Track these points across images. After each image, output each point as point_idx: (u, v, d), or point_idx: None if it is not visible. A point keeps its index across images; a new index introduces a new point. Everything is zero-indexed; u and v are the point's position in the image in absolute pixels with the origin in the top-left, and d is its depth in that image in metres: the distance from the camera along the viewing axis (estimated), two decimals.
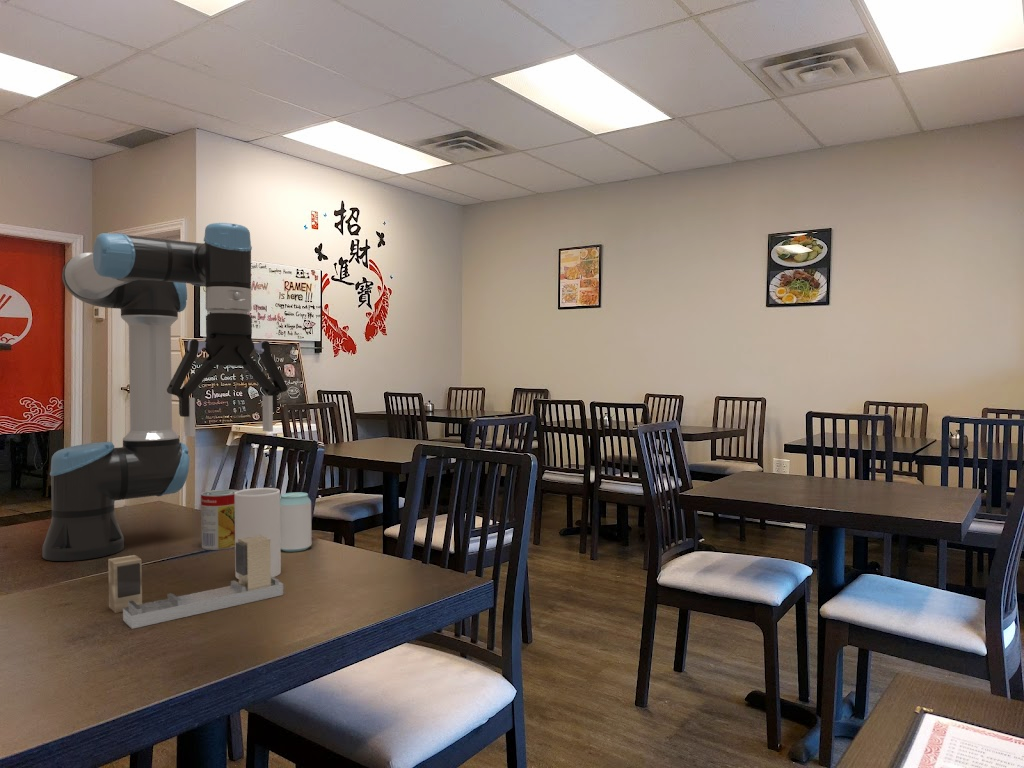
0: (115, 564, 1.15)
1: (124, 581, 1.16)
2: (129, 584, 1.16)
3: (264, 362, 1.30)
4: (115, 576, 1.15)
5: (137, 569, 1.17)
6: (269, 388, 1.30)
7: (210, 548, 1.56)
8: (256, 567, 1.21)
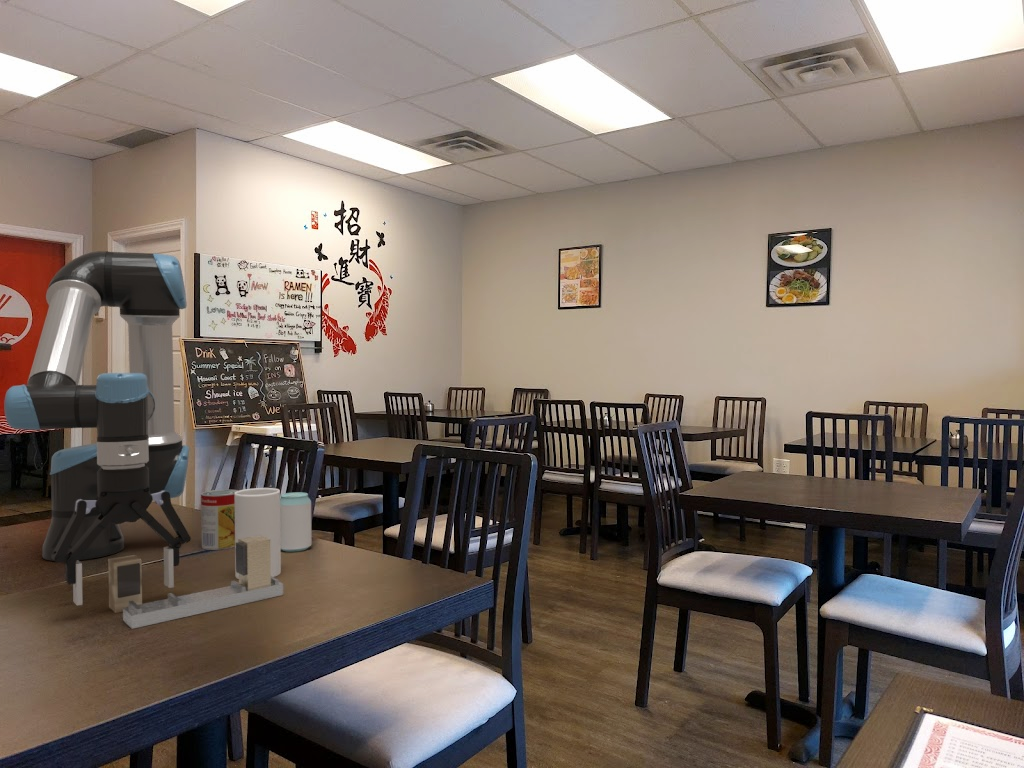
0: (115, 564, 1.15)
1: (124, 581, 1.16)
2: (129, 584, 1.16)
3: (165, 512, 1.23)
4: (115, 576, 1.15)
5: (137, 569, 1.17)
6: (169, 541, 1.22)
7: (210, 548, 1.56)
8: (256, 567, 1.21)
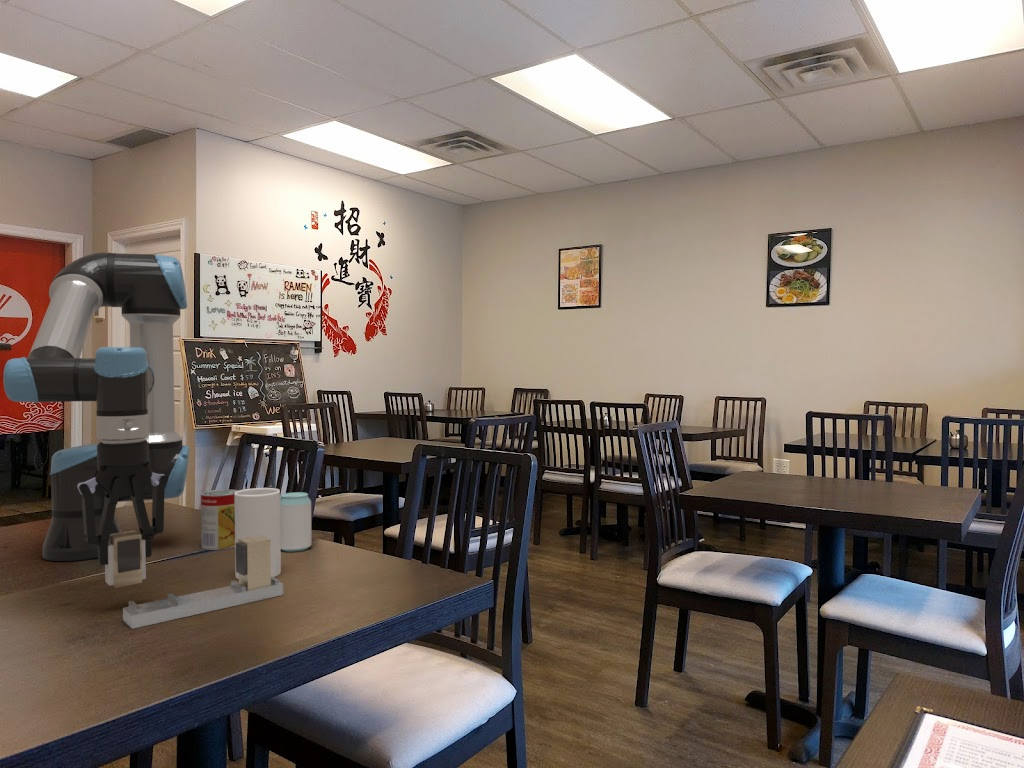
0: (115, 539, 1.16)
1: (124, 556, 1.16)
2: (129, 559, 1.17)
3: (154, 496, 1.22)
4: (115, 551, 1.16)
5: (137, 544, 1.17)
6: (144, 529, 1.19)
7: (210, 548, 1.56)
8: (256, 567, 1.21)
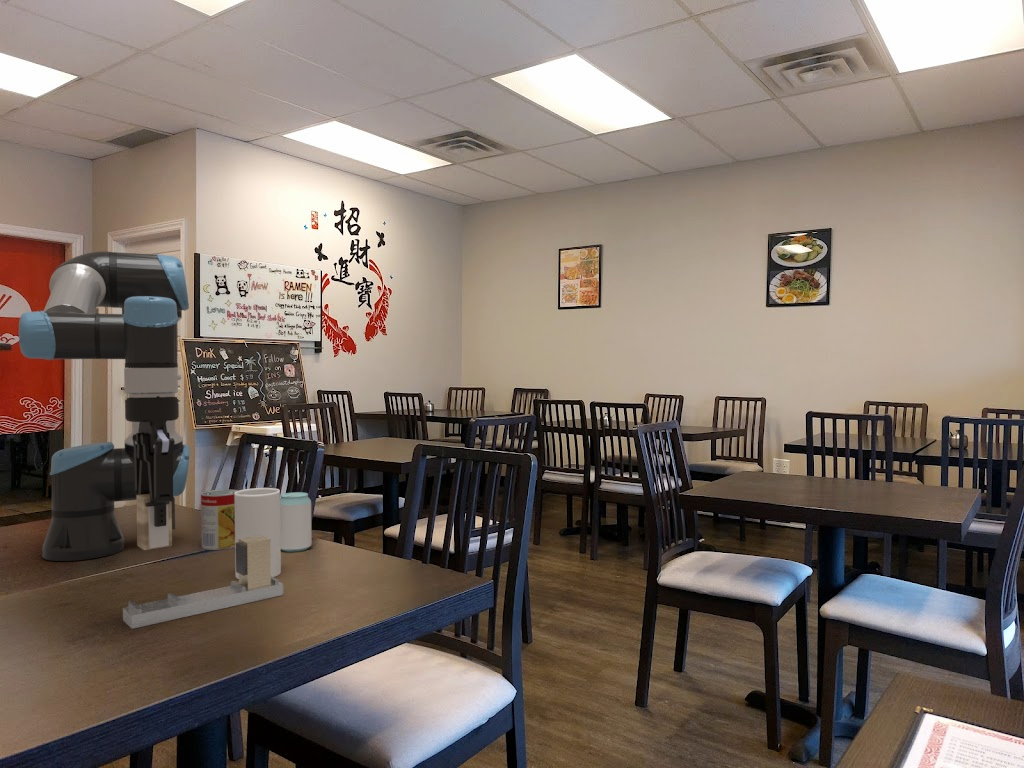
0: None
1: None
2: None
3: None
4: (171, 508, 1.12)
5: None
6: None
7: (210, 548, 1.56)
8: (256, 567, 1.21)
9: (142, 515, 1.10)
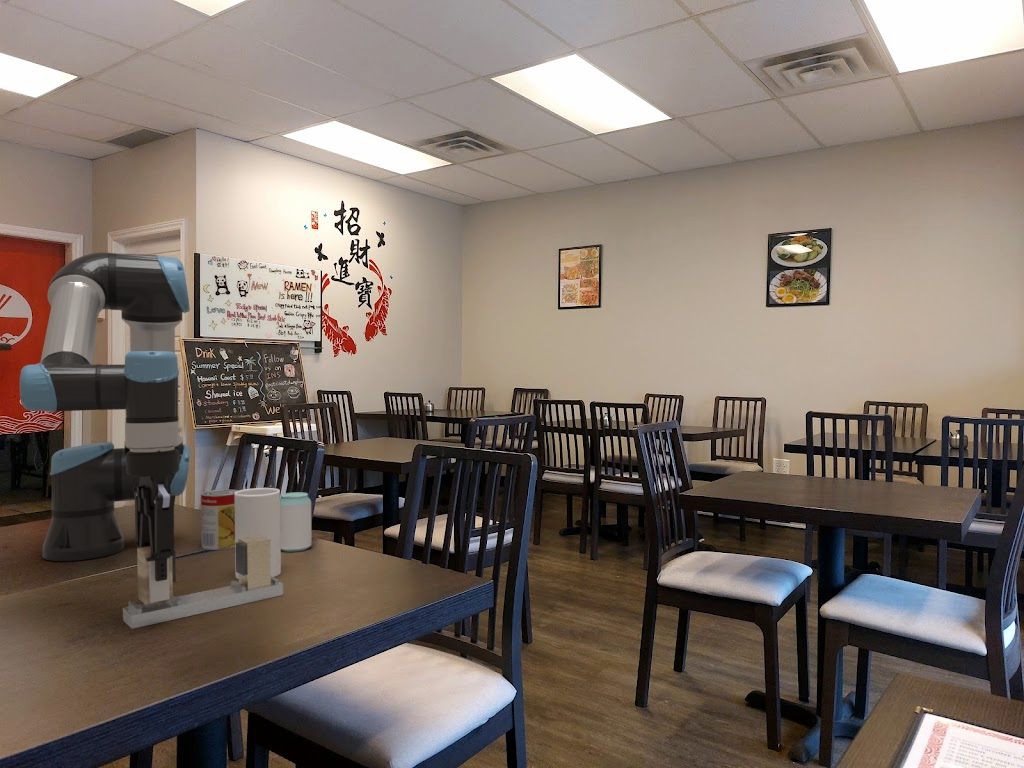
0: None
1: None
2: None
3: None
4: (171, 561, 1.12)
5: None
6: None
7: (210, 548, 1.56)
8: (256, 567, 1.21)
9: (143, 569, 1.10)
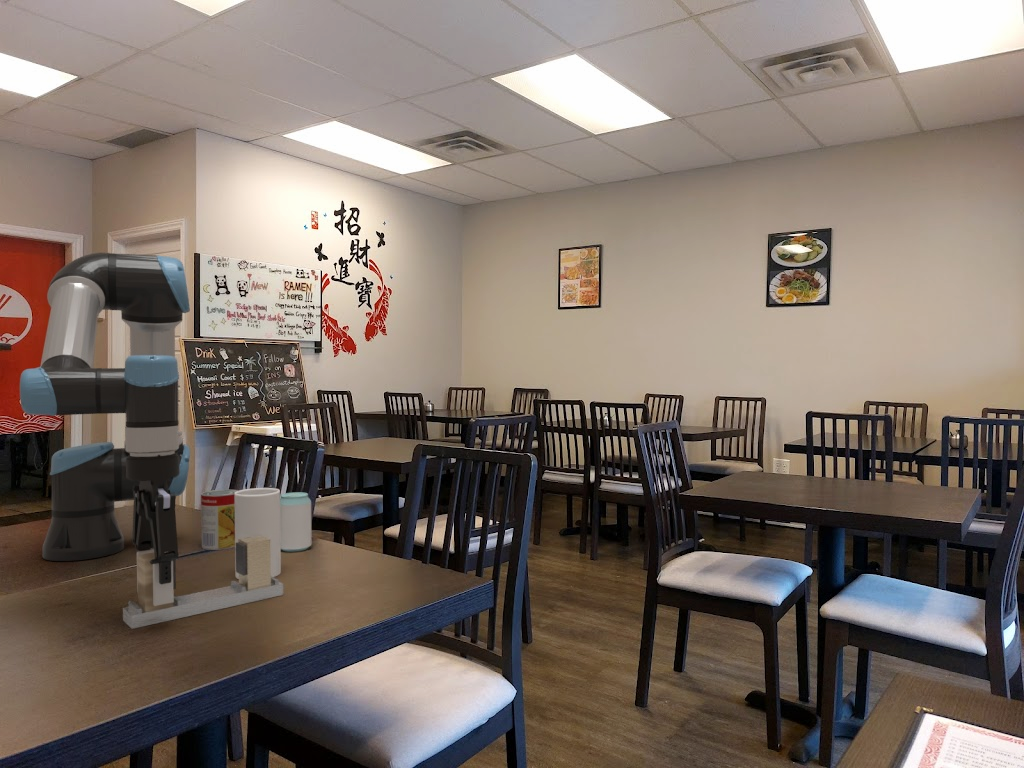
0: None
1: None
2: None
3: None
4: None
5: None
6: None
7: (210, 548, 1.56)
8: (256, 567, 1.21)
9: (143, 576, 1.10)
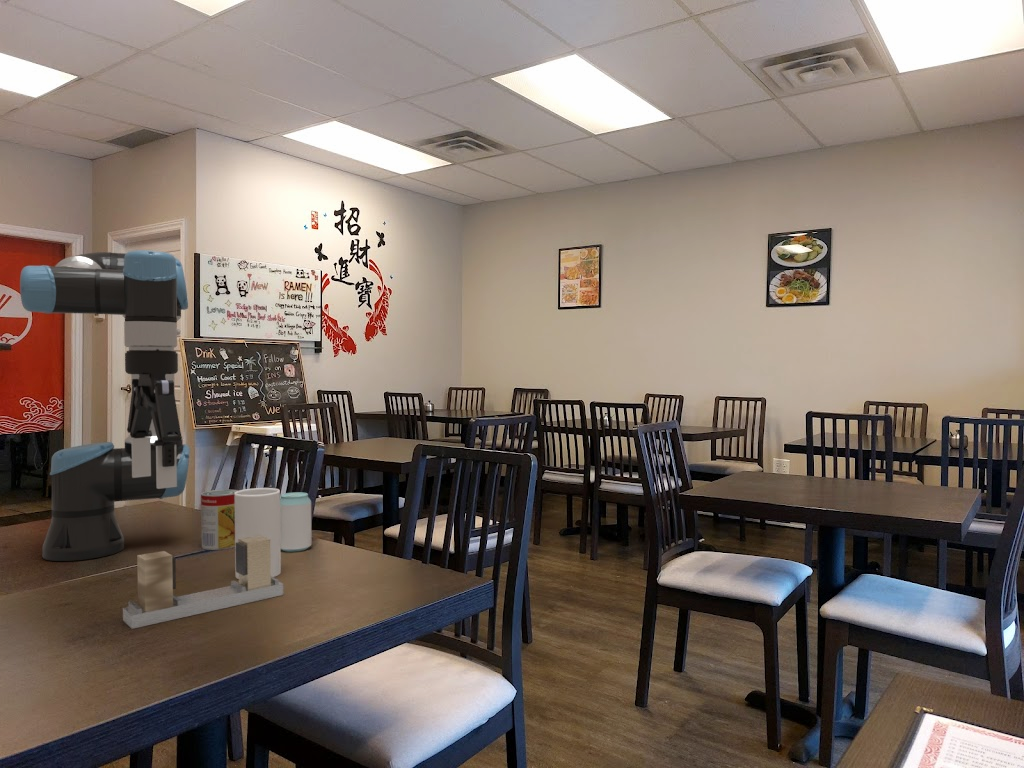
0: (171, 556, 1.13)
1: None
2: None
3: None
4: (172, 568, 1.13)
5: None
6: (148, 429, 1.20)
7: (210, 548, 1.56)
8: (256, 567, 1.21)
9: (143, 576, 1.10)
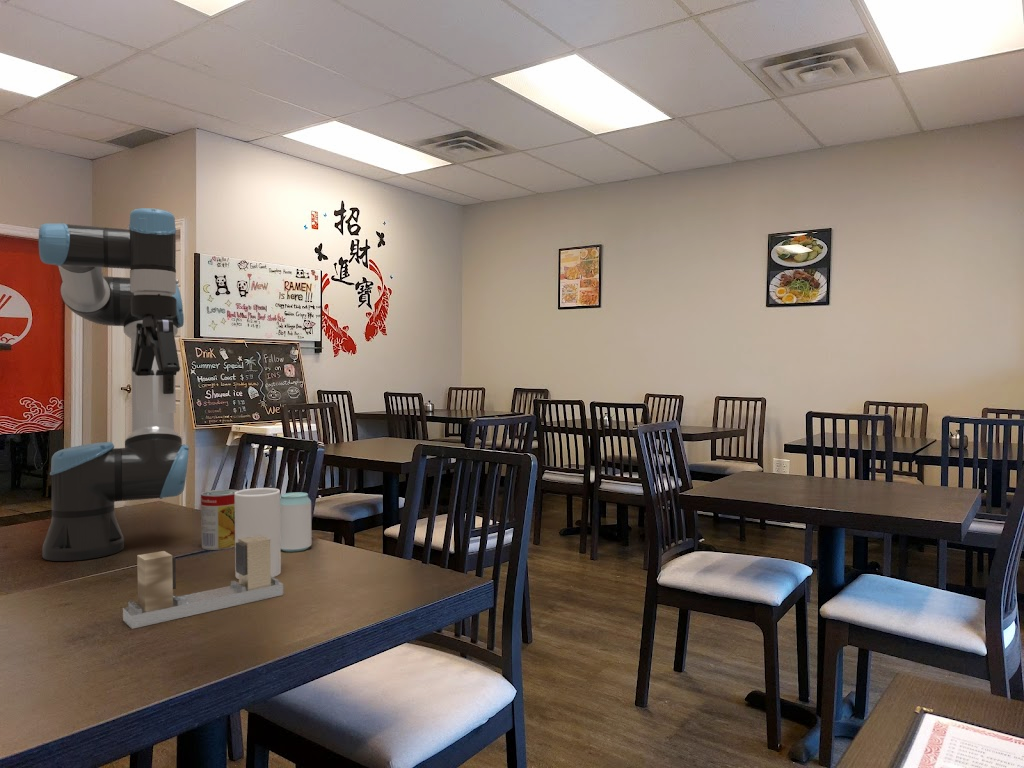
0: (171, 556, 1.13)
1: None
2: None
3: None
4: (172, 568, 1.13)
5: None
6: (151, 368, 1.37)
7: (210, 548, 1.56)
8: (256, 567, 1.21)
9: (143, 576, 1.10)
